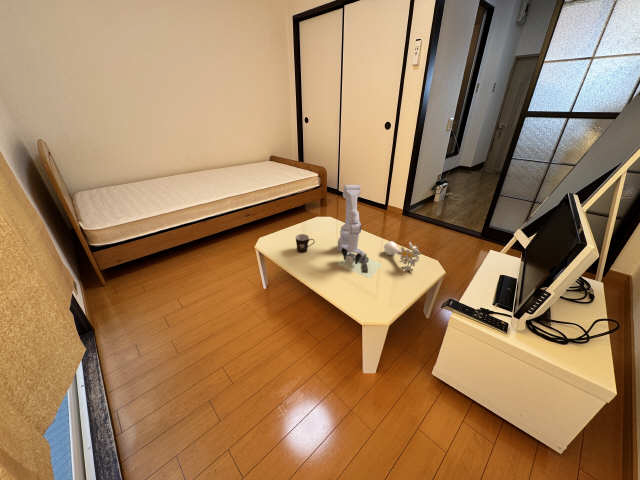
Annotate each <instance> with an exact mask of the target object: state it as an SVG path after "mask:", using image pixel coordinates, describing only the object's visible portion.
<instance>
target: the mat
mask: <svg viewBox="0 0 640 480" xmlns="http://www.w3.org/2000/svg"><path fill="white" fill-rule="evenodd" d="M351 253H353V252H351ZM353 254H356V255H357V253H353ZM366 264H367V267H368V273H366V272H363V269H362V263H361V262H360V261H358V263H357V264H355V265H354V266H353V267H351V266H349V265H346V264H345V260H344V258H343V259H342V260H340V262H338V263H337V266H339V267H341V268H344V269H346V270H349V271H351V272H354V273H357V274H358V275H361V276H364V277H367V278H369V279H372V277H373V276H374V275H375V274H376V272H377V271H378V270H380V267H382V265H383V263H381V262H379V261H376V260H373V259H371V258H369V261H368V263H366Z"/></svg>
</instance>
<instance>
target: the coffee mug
mask: <svg viewBox="0 0 640 480" xmlns="http://www.w3.org/2000/svg"><path fill="white" fill-rule="evenodd" d="M309 238H310V237H309V235H308V234H306V233H301V234H300V233H299V234H297V235H295V241H296V242H295V243H296V251H297V252H298V253H300V254H304V253H307V251H308V248H309V247H310V246H312V245H314V244H315V239H314V238H310V239H309ZM310 241H313V242H312V243H311V244H309V242H310Z"/></svg>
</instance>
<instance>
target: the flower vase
mask: <svg viewBox="0 0 640 480" xmlns="http://www.w3.org/2000/svg"><path fill="white" fill-rule="evenodd" d="M407 244H408V246H409V249H406V250H405V248H404V247H402V246H401V247H400V248H399V247H398V244H397V243H396V242H395V241H392V240H391V241H388V242H386V243H385V244H384V246H383V250H384V251H383V252H384V253H385V255H387V256H395V254H396V255H399V256H400V260H399V261H398V262H399V263H403V265H402V266H403V268H402V269H405V270H406V271H408V270H411V268H412V267H415V266H416V262H419V261H420V257H419V256H420V255H421V251H419V247H418V246H416V245H413V243H412V242H411V241H409V242H408V243H407ZM411 250H412V251H411Z"/></svg>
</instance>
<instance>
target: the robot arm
mask: <svg viewBox="0 0 640 480" xmlns="http://www.w3.org/2000/svg"><path fill="white" fill-rule="evenodd" d="M342 188H343V189H342V198H344V199H345V220H344V222H345V223H344V224H343V225H342V226H340V233H339V234H340V235H339V237H338V240H337V249H336V250H337V251H339V252H341V253H342V256H343V259H344V260H346V255H347V254H348V253H351V252H352V253H355V254H357V255H356V256H355V257H356V261H355V264H357V263H358V261H359V259H360V257H361V256H363V255H364V253H365V251H363V250H361V249H359V248H358V247H359V246H358V245H359V237H360V234H361V232H362V224H361V221H360V211H358V210H357V209H358V198H359V197H360V194H361V185H360V184H344V185H343V187H342Z"/></svg>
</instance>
